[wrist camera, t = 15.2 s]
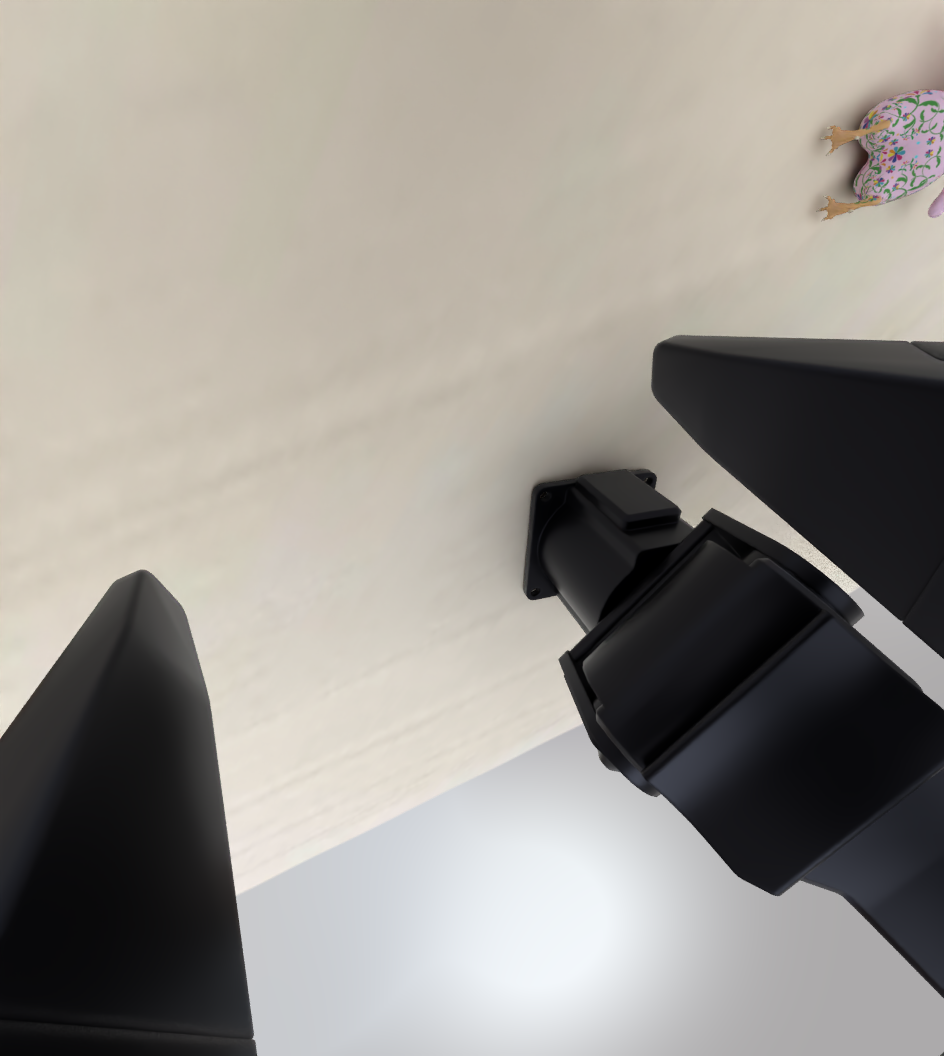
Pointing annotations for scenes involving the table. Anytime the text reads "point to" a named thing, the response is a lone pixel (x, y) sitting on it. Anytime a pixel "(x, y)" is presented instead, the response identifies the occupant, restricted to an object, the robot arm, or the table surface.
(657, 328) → the table surface
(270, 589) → the table surface
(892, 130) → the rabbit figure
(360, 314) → the table surface
